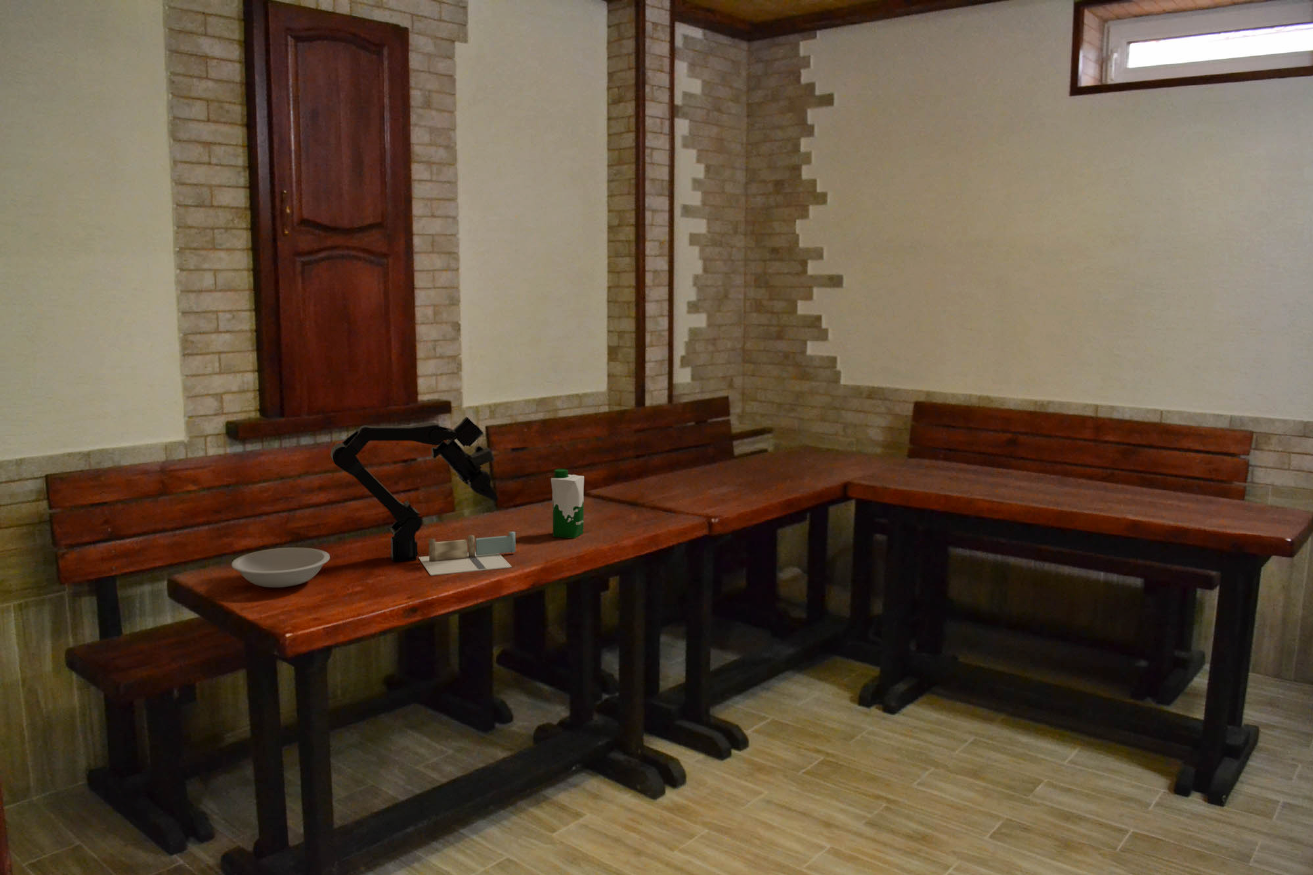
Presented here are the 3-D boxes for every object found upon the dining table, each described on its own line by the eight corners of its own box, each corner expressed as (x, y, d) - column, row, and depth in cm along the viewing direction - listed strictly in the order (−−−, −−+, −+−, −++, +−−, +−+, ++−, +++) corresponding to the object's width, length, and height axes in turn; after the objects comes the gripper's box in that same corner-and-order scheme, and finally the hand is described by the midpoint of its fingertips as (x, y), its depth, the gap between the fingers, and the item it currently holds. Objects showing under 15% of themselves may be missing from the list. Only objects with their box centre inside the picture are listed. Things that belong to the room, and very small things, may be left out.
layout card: (430, 575, 295) (430, 574, 295) (418, 558, 312) (418, 556, 312) (511, 567, 303) (511, 566, 303) (495, 550, 320) (495, 549, 320)
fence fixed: (429, 561, 308) (429, 540, 307) (428, 560, 309) (428, 539, 308) (475, 557, 312) (475, 536, 311) (474, 555, 314) (473, 535, 313)
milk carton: (560, 530, 344) (559, 467, 341) (587, 532, 341) (587, 468, 338) (548, 537, 336) (548, 472, 333) (576, 539, 333) (575, 474, 330)
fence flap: (477, 555, 312) (476, 536, 312) (475, 554, 314) (475, 534, 313) (516, 551, 317) (515, 532, 316) (514, 550, 318) (514, 531, 317)
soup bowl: (217, 583, 288) (215, 559, 287) (303, 565, 305) (302, 542, 304) (258, 604, 271) (257, 578, 270) (348, 584, 288) (347, 559, 287)
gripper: (485, 443, 306) (522, 483, 311) (470, 433, 323) (505, 471, 328) (455, 471, 304) (492, 511, 309) (442, 460, 321) (478, 497, 327)
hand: (493, 496), depth 319 cm, fingers open, 9 cm apart
